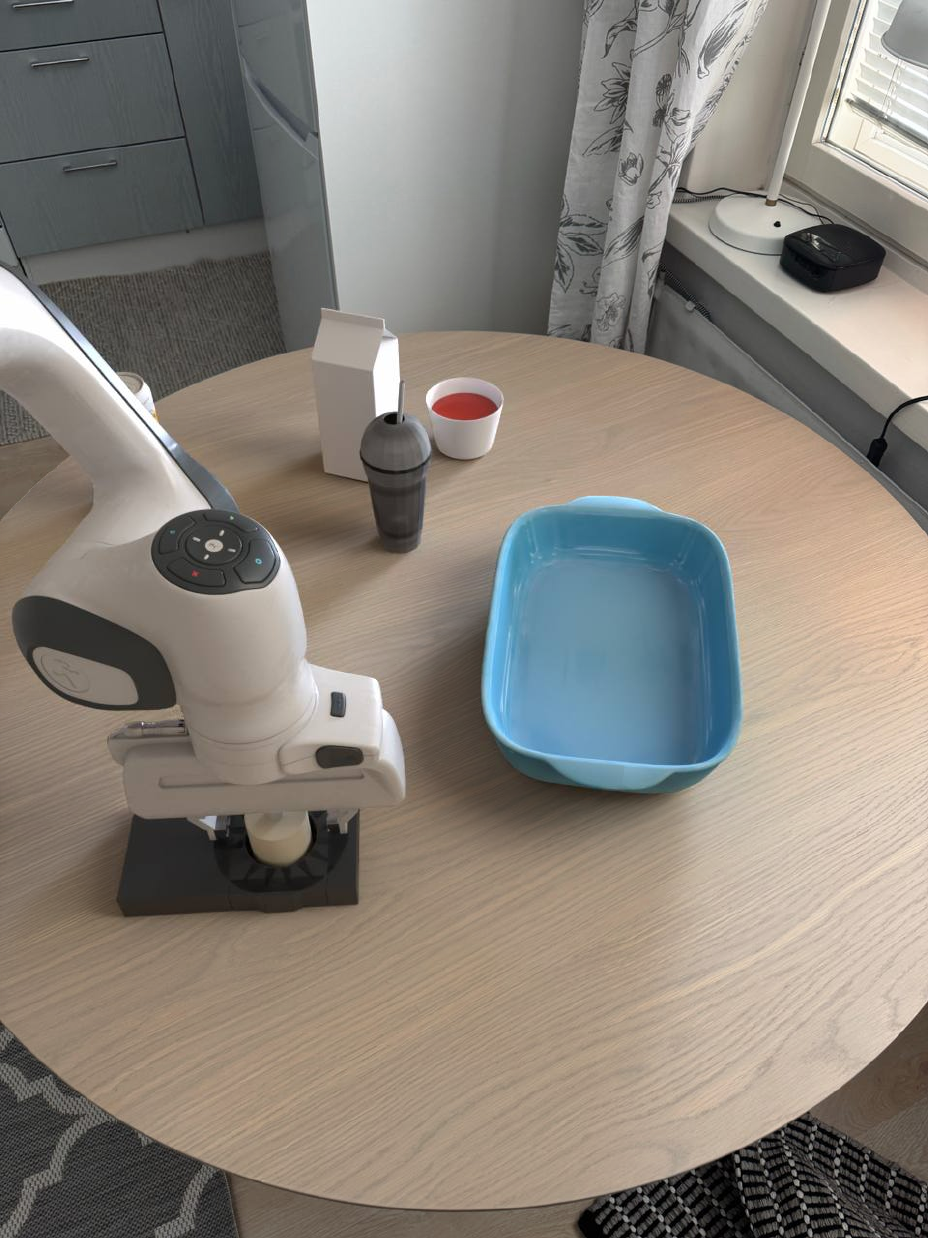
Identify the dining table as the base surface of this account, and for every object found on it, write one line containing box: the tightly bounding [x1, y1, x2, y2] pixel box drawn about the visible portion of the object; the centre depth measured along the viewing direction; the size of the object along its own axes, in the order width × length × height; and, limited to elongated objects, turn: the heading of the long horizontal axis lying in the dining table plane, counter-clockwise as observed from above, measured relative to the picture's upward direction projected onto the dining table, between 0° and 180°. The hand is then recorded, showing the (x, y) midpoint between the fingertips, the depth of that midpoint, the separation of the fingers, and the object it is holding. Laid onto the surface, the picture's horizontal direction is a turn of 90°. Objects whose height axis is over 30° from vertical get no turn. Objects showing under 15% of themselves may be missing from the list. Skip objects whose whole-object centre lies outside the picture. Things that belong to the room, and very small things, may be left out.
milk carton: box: [310, 307, 401, 483], centre depth 110 cm, size 7×7×19 cm
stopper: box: [244, 811, 315, 868], centre depth 78 cm, size 5×5×7 cm
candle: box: [425, 377, 504, 460], centre depth 118 cm, size 9×9×6 cm
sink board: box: [116, 809, 361, 918], centre depth 80 cm, size 18×11×2 cm, turn 94°
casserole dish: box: [480, 495, 744, 794], centre depth 92 cm, size 37×22×7 cm, turn 173°
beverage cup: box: [359, 379, 433, 554], centre depth 100 cm, size 7×7×20 cm
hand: (279, 829), depth 78 cm, fingers open, 8 cm apart
